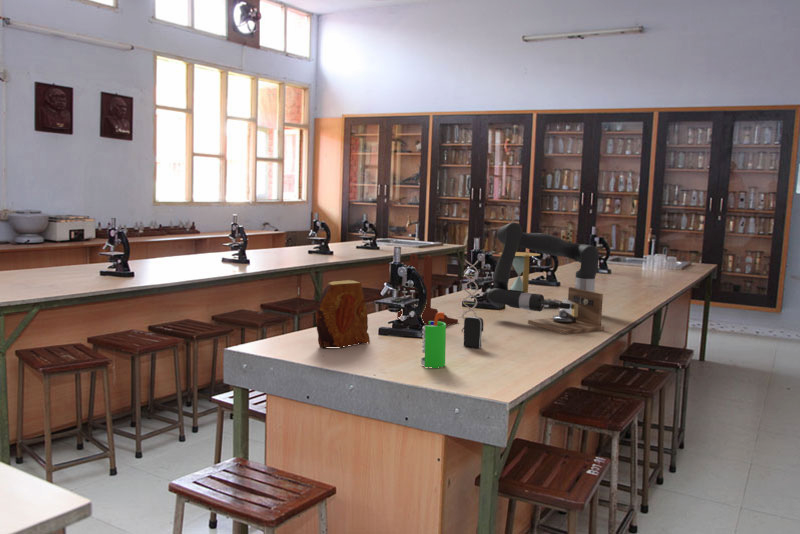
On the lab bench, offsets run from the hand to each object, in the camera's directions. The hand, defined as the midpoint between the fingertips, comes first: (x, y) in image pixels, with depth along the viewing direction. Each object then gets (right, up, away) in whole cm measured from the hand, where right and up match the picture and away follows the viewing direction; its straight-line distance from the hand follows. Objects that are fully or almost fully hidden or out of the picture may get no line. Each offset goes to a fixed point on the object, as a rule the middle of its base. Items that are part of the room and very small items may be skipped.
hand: (569, 306), depth 301 cm
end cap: (-13, -2, +66) cm, 68 cm away
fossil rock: (-94, -12, -40) cm, 103 cm away
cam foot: (+1, -8, +6) cm, 10 cm away
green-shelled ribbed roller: (-61, -16, -66) cm, 91 cm away
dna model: (-44, -10, -11) cm, 47 cm away
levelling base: (0, -9, +7) cm, 12 cm away
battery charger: (-45, -13, -37) cm, 60 cm away
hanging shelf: (-60, -7, +13) cm, 62 cm away
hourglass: (-9, -1, +81) cm, 82 cm away
